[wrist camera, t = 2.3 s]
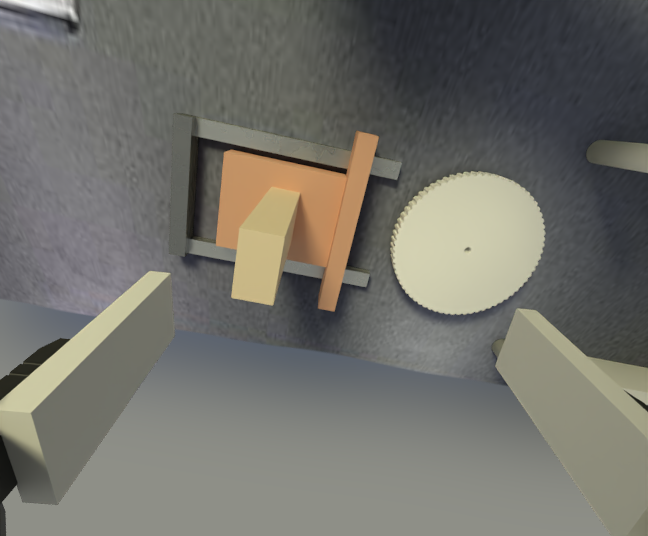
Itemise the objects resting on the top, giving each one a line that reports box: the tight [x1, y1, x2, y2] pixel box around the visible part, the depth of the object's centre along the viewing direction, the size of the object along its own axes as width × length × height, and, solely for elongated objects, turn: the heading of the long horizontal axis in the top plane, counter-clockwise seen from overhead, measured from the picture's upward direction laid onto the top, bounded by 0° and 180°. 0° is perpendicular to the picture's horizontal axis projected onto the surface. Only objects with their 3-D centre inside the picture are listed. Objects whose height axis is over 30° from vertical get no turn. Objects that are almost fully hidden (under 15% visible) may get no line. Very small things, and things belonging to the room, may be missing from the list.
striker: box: [216, 131, 379, 311], centre depth 27 cm, size 12×16×14 cm
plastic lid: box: [390, 171, 545, 315], centre depth 34 cm, size 14×14×2 cm
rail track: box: [169, 113, 402, 287], centre depth 32 cm, size 20×12×2 cm, turn 78°
